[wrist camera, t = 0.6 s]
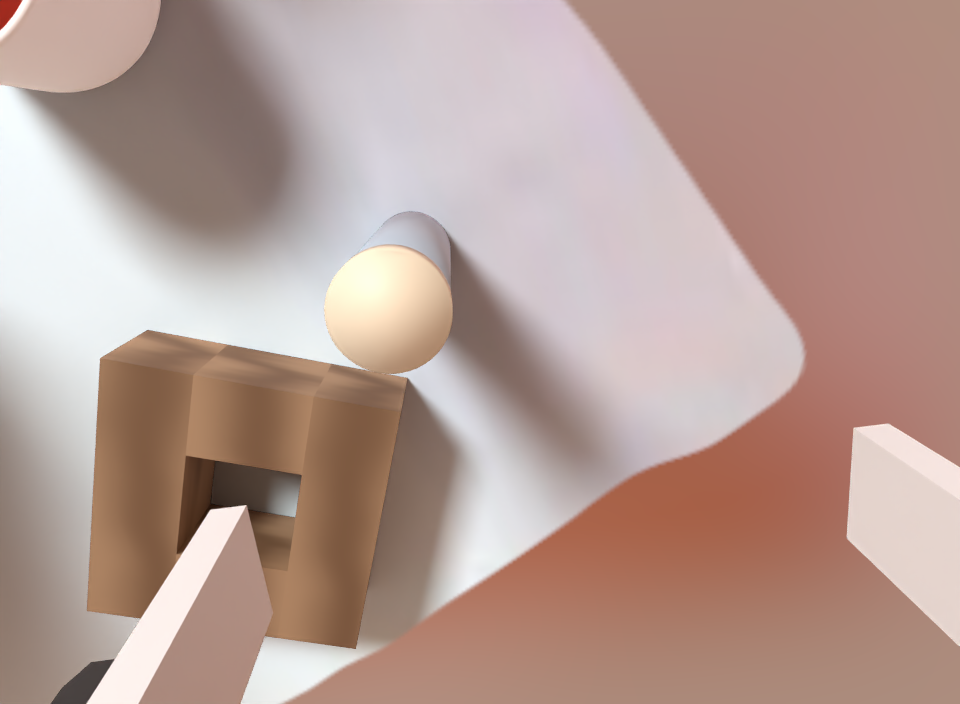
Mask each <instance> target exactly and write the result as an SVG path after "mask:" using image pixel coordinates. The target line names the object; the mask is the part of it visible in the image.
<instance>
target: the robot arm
mask: <svg viewBox="0 0 960 704" xmlns="http://www.w3.org/2000/svg"><path fill="white" fill-rule="evenodd" d="M848 511H849V512H848V526H847V539H848V540H849V541H850V542H851V543H852V544H853V545H854V546H855V547H856V548H857V549H858V550H859V551H860V552H862V553H863V554H864V555H865V556H866V557H867V558H868V559H869V560H870V561H871V562H872V563H873V564H874V565H875V566H876V567H877V568H878V569H879V570H880V571H881V572H883V574H884V575H886V576H887V577H888V578H889V579H890V580H891V581H892V582H893V583H894V584H895V585H896V586H897V587H898V588H899V589H900V590H901V591H902V592H903V593H904V594H905V595H907V596H908V598H909V599H910V600H912V601H913V602H914V603H915V604H916V605H917V606H918V607H919V608H920V609H921V610H922V611H923V612H924V613H925V614H926V615H927V616H928V617H930V619H931V620H932V621H933V622H935V624H937V625H938V626H939V627H940V628H941V629H942V630H943V631H944V632H945V633H946V634H947V635H948V636H949V637H950V638H952V640H953V641H954V642H955V643H956V644H957V645H958V646H959V647H960V467H958V466H957V465H955V464H953V463H952V462H950V461H948V460H947V459H945V458H943V457H942V456H940V455H938V454H937V453H935V452H934V451H932V450H931V449H929V448H927V447H926V446H924V445H922V444H921V443H919V442H917V441H916V440H914V439H913V438H911V437H909V436H908V435H906V434H904V433H903V432H901V431H900V430H898V429H896V428H895V427H893V426H891V425H890V424H881V425H874V426H866V427H858V428H854V431H853V446H852V463H851V479H850V494H849V510H848ZM272 615H273V611H272V607H271V603H270V599H269V595H268V591H267V586H266V582H265V578H264V574H263V570H262V566H261V562H260V558H259V554H258V550H257V546H256V541H255V537H254V533H253V529H252V525H251V521H250V517H249V513H248V509H247V505H244V506H236V507H228V508H220V509H212V510H210V511H209V513H208V514H207V516H206V517H205V519H204V521H203V522H202V524H201V525H200V527H199V528H198V530H197V532H196V533H195V535H194V536H193V538H192V539H191V541H190V542H189V544H188V546H187V547H186V549H185V550H184V552H183V553H182V555H181V557H180V558H179V560H178V561H177V563H176V564H175V566H174V568H173V569H172V571H171V572H170V574H169V575H168V577H167V579H166V580H165V582H164V583H163V585H162V586H161V588H160V589H159V591H158V593H157V594H156V596H155V597H154V599H153V600H152V602H151V604H150V605H149V607H148V608H147V610H146V611H145V613H144V615H143V616H142V618H141V619H140V621H139V622H138V624H137V625H136V627H135V629H134V630H133V632H132V633H131V635H130V636H129V638H128V640H127V641H126V643H125V644H124V646H123V647H122V649H121V651H120V652H119V654H118V655H117V657H116V658H115V659H113V660H105V661H98V662H91V663H90V664H89V665H88V666H87V667H85V668H84V669H83V670H82V671H81V672H80V673H79V674H77V675H76V676H75V677H74V678H73V679H72V680H71V681H69V682H68V683H67V684H66V685H65V686H64V687H63V688H62V689H61V690H60V692H59V693H58V694H57V696H56V697H55V699H54V700H53V701H52V703H51V704H240V703H241V700H242V698H243V695H244V692H245V689H246V687H247V684H248V681H249V678H250V676H251V673H252V670H253V667H254V664H255V662H256V659H257V656H258V653H259V651H260V648H261V645H262V642H263V640H264V637H265V634H266V631H267V629H268V626H269V623H270V620H271V617H272Z"/></svg>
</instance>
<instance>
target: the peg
mask: <svg viewBox="0 0 960 704" xmlns="http://www.w3.org/2000/svg"><path fill="white" fill-rule="evenodd" d="M324 312H325V321H326V326H327V329H328V332H329V334H330V336H331V338H332V340H333V342H334V343H335V345H336V346H337V348H338V349H339V350H340V351H341V352H342V354H343V355H345V356H346V357H347V358H348V359H349V360H351V361H352V362H353V363H355V364H356V365H358V366H360V367H362V368H365V369H367V370H370V371H373V372H377V373H385V374H396V373H403V372H407V371H411V370H413V369H416V368H418V367H420V366H422V365H424V364H425V363H427V362H428V361H430V360H431V359H432V358H433V357H434V356H435V355H436V354H437V353H438V352H439V351H440V349H441V348H442V347H443V345H444V343H445V342H446V340H447V338H448V335H449V333H450V329H451V326H452V318H453V304H452V294H451V248H450V242H449V238H448V236H447V233H446V232H445V230H444V228H443V227H442V226H441V225H440V224H439V223H438V222H437V221H436V220H435V219H434V218H432V217H430V216H428V215H426V214H424V213H420V212H403V213H399V214H397V215H394V216H393V217H391V218H389V219H388V220H387V221H386V222H385V223H384V224H383V225H382V226H381V227H380V228H379V229H378V230H377V232H376V233H375V234H374V235H373V236H372V237H371V238H370V239H369V240H368V242H367V243H366V244H365V245H364V246H363V247H362V248H361V249H360V250H359V252H358V253H357V254H356V255H355V256H353V257H352V258H351V259H350V260H349V261H348V262H347V263H346V264H345V265H344V266H343V267H342V268H341V269H340V270H339V271H338V273H337V274H336V275H335V277H334V278H333V280H332V282H331V284H330V286H329V288H328V291H327V294H326V299H325V307H324Z"/></svg>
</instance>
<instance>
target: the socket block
mask: <svg viewBox="0 0 960 704" xmlns="http://www.w3.org/2000/svg"><path fill="white" fill-rule="evenodd" d="M406 383H407V378H404V377H399V376H394V375H388V374H383V373H377V372H372V371H367V370H361V369H356V368H350V367H345V366H339V365H334V364H329V363H323V362H318V361H312V360H307V359H302V358H296V357H291V356H285V355H280V354H274V353H269V352H264V351H258V350H253V349H247V348H242V347H237V346H231V345H226V344H220V343H215V342H209V341H204V340H199V339H193V338H188V337H182V336H177V335H172V334H166V333H161V332H155V331H150V330H147V331H145V332H143V333H142V334H140V335H138V336H137V337H135V338H133V339H132V340H130V341H128V342H127V343H125V344H123V345H122V346H120V347H118V348H117V349H115V350H113V351H112V352H110V353H108V354H107V355H105V356H103V357H102V358H100V372H99V391H98V410H97V429H96V448H95V467H94V486H93V505H92V524H91V543H90V562H89V581H88V600H87V611H92V612H99V613H106V614H113V615H120V616H127V617H134V618H142V616H143V615H144V613H145V611H146V610H147V608H148V607H149V605H150V604H151V602H152V600H153V599H154V597H155V596H156V594H157V593H158V591H159V589H160V588H161V586H162V585H163V583H164V582H165V580H166V579H167V577H168V575H169V574H170V572H171V571H172V569H173V568H174V566H175V564H176V563H177V561H178V560H179V558H180V557H181V555H182V553H183V552H184V550H185V549H186V547H187V546H188V544H189V542H190V541H191V539H192V538H193V536H194V535H195V533H196V532H197V530H198V528H199V527H200V525H201V524H202V522H203V521H204V519H205V517H206V516H207V514H208V513H209V511H210V510H212V509H220V508H228V507H226V506H220V505H214V504H210V503H211V494H212V485H213V475H214V466H215V461H221V462H227V463H233V464H239V465H245V466H251V467H257V468H263V469H269V470H275V471H281V472H287V473H293V474H299V475H302V478H301V484H300V491H299V498H298V504H297V511H296V518H295V517H289V516H282V515H276V514H270V513H264V512H257V511H251V510H248V513H249V517H250V521H251V525H252V529H253V533H254V537H255V541H256V546H257V550H258V554H259V558H260V562H261V566H262V570H263V574H264V578H265V582H266V586H267V591H268V595H269V599H270V603H271V607H272V611H273V615H272V617H271V620H270V623H269V626H268V629H267V631H266V634H265V636H268V637H275V638H282V639H290V640H297V641H304V642H311V643H318V644H325V645H332V646H339V647H346V648H353V649H356V645H357V640H358V635H359V630H360V624H361V619H362V614H363V609H364V604H365V598H366V593H367V588H368V583H369V577H370V572H371V567H372V562H373V557H374V551H375V546H376V541H377V536H378V530H379V525H380V520H381V515H382V510H383V504H384V499H385V494H386V489H387V483H388V478H389V473H390V468H391V463H392V457H393V452H394V447H395V442H396V436H397V431H398V426H399V421H400V416H401V410H402V405H403V399H404V394H405V389H406Z"/></svg>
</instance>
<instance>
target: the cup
mask: <svg viewBox="0 0 960 704" xmlns="http://www.w3.org/2000/svg"><path fill="white" fill-rule="evenodd" d="M160 5H161V0H0V85H5V86H12V87H19V88H26V89H33V90H40V91H47V92H60V93H69V92H80V91H85V90H90V89H93V88H97V87H100V86H102V85H104V84H107V83H109V82H111V81H113V80H114V79H116V78H118V77H119V76H121V75H122V74H123V73H125V72H126V71H127V70H128V69H129V68H131V67H132V66H133V65H134V63H135V62H136V61H137V60H138V59H139V58H140V56H141V55H142V54H143V52H144V51H145V49H146V48H147V46H148V44H149V42H150V40H151V38H152V36H153V33H154V31H155V28H156V25H157V21H158V17H159V12H160Z"/></svg>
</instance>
